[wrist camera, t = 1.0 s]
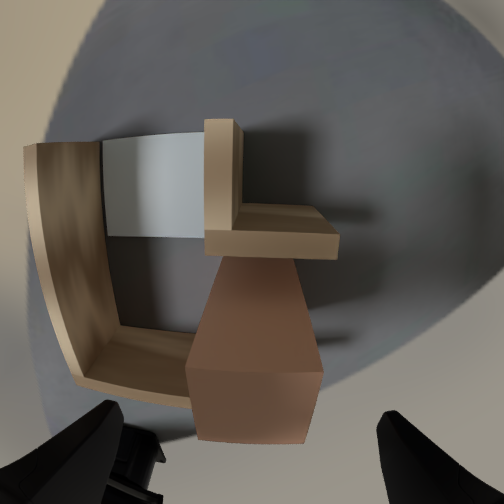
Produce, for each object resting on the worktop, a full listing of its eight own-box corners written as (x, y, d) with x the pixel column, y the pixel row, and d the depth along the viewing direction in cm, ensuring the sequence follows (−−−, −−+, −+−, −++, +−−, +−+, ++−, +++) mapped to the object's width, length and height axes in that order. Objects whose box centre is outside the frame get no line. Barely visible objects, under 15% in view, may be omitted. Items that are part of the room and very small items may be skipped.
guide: (297, 349, 19) (307, 413, 14) (112, 334, 20) (76, 384, 14) (316, 135, 15) (347, 126, 9) (87, 143, 15) (23, 146, 9)
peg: (287, 312, 18) (303, 443, 9) (225, 310, 18) (198, 439, 9) (291, 255, 17) (323, 371, 8) (224, 252, 17) (184, 367, 8)
